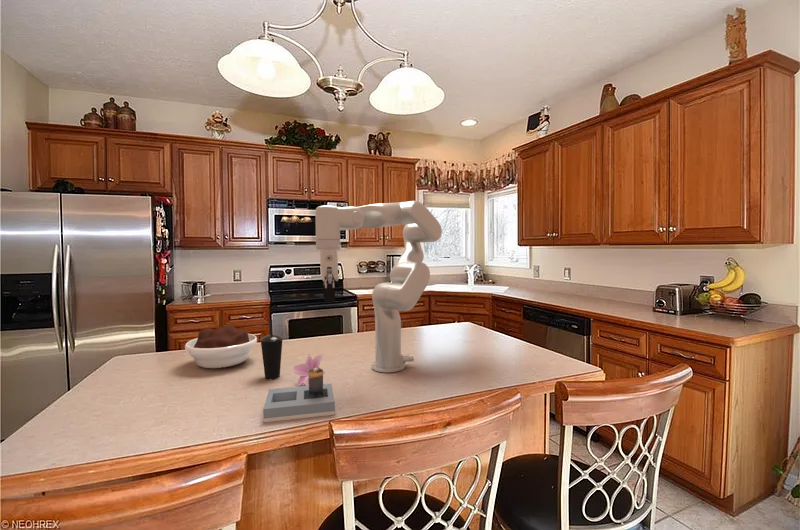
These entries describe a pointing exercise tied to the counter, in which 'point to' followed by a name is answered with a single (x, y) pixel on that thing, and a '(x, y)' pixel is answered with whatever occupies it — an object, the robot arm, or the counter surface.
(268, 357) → the drinking cup
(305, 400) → the tray
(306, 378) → the lily
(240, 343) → the white bowl of brownies
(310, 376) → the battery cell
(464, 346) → the counter surface
